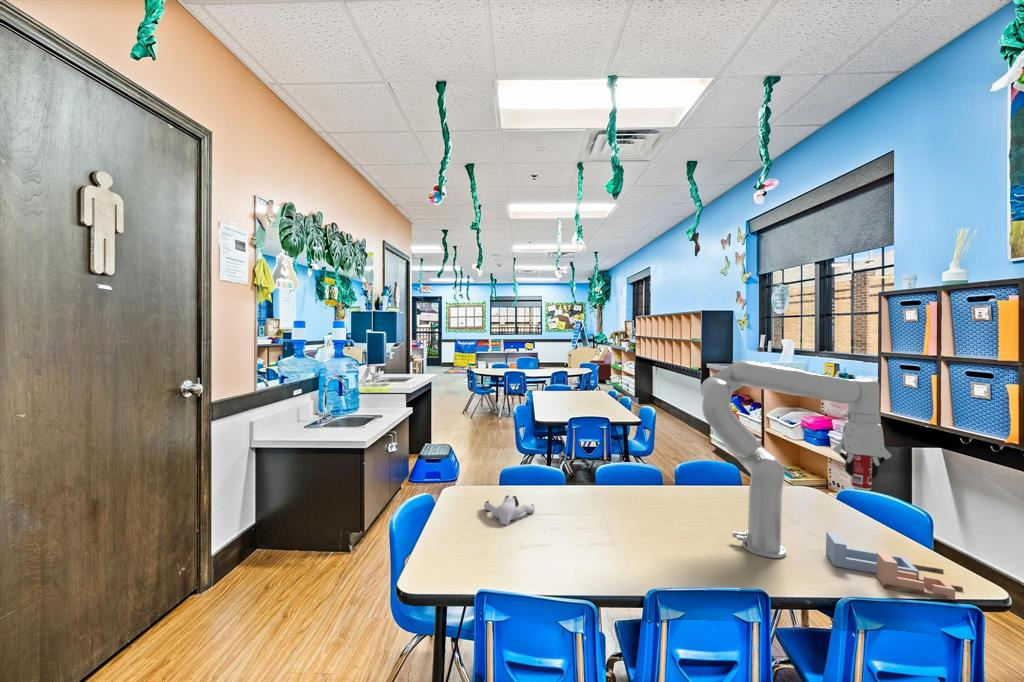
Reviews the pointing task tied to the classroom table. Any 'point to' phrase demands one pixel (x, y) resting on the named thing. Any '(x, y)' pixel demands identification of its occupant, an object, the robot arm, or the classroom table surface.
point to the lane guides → (923, 581)
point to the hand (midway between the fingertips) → (861, 475)
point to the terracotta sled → (896, 574)
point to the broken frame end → (940, 587)
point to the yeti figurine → (508, 509)
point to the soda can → (862, 472)
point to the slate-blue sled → (859, 556)
